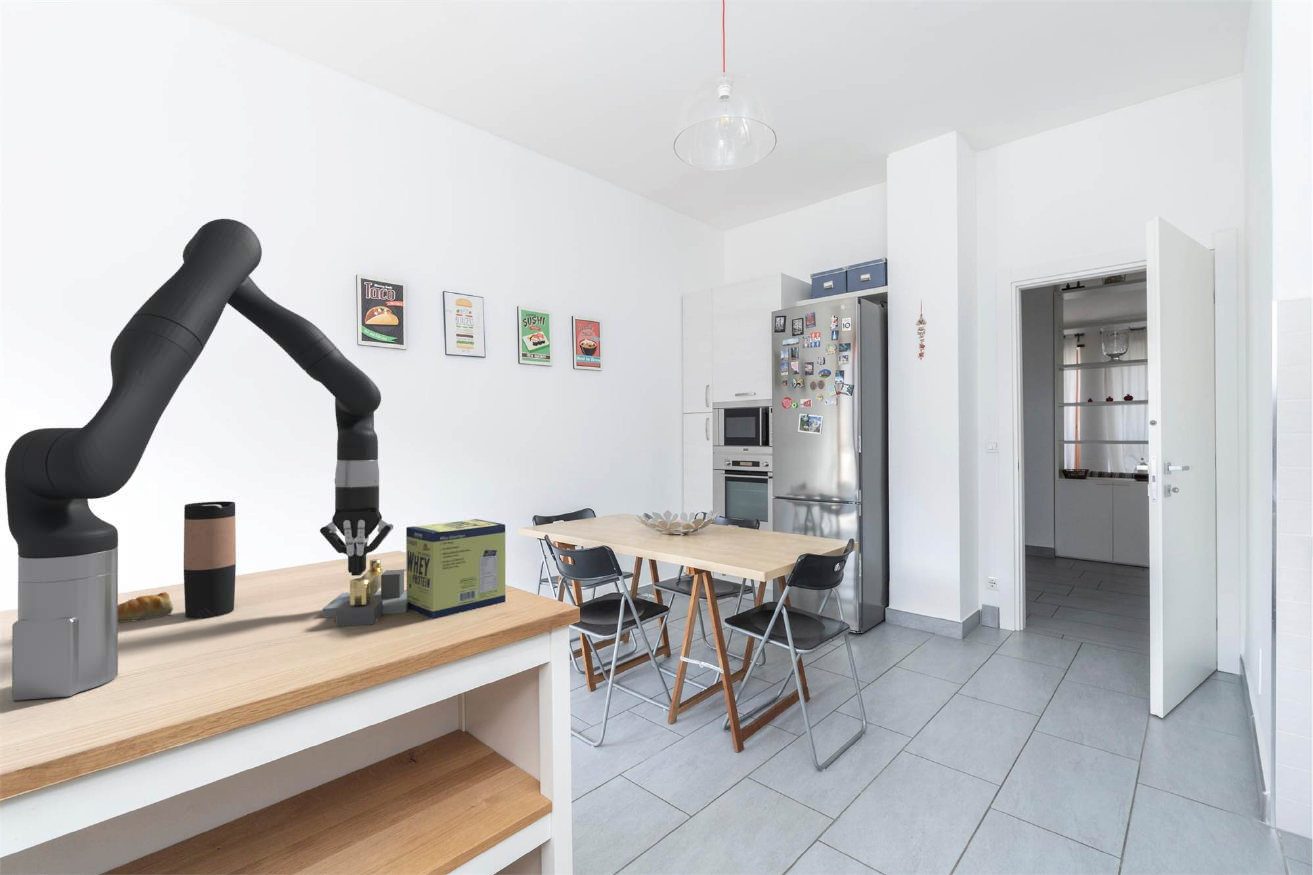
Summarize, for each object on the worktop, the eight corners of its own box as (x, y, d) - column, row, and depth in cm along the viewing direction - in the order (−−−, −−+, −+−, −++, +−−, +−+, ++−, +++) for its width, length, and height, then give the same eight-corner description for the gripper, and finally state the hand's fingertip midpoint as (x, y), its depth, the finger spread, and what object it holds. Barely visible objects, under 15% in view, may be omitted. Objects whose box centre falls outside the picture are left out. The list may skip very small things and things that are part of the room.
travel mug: (190, 609, 110) (190, 502, 110) (239, 605, 113) (240, 500, 114) (177, 621, 103) (177, 506, 103) (230, 615, 107) (230, 504, 107)
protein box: (404, 609, 111) (404, 526, 112) (478, 593, 123) (478, 518, 123) (431, 620, 104) (431, 532, 105) (507, 602, 116) (507, 523, 116)
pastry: (108, 628, 100) (107, 605, 100) (96, 621, 104) (96, 599, 104) (176, 614, 108) (176, 593, 108) (163, 608, 112) (163, 588, 112)
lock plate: (398, 622, 103) (398, 587, 103) (310, 627, 100) (310, 592, 100) (417, 596, 119) (417, 566, 119) (342, 600, 117) (342, 570, 117)
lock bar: (368, 604, 103) (368, 575, 103) (347, 605, 102) (347, 576, 102) (384, 583, 118) (384, 558, 118) (367, 584, 117) (367, 559, 117)
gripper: (399, 482, 118) (398, 569, 118) (326, 483, 116) (326, 572, 115) (389, 484, 111) (389, 577, 111) (312, 485, 108) (311, 580, 108)
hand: (356, 574), depth 113 cm, fingers closed
